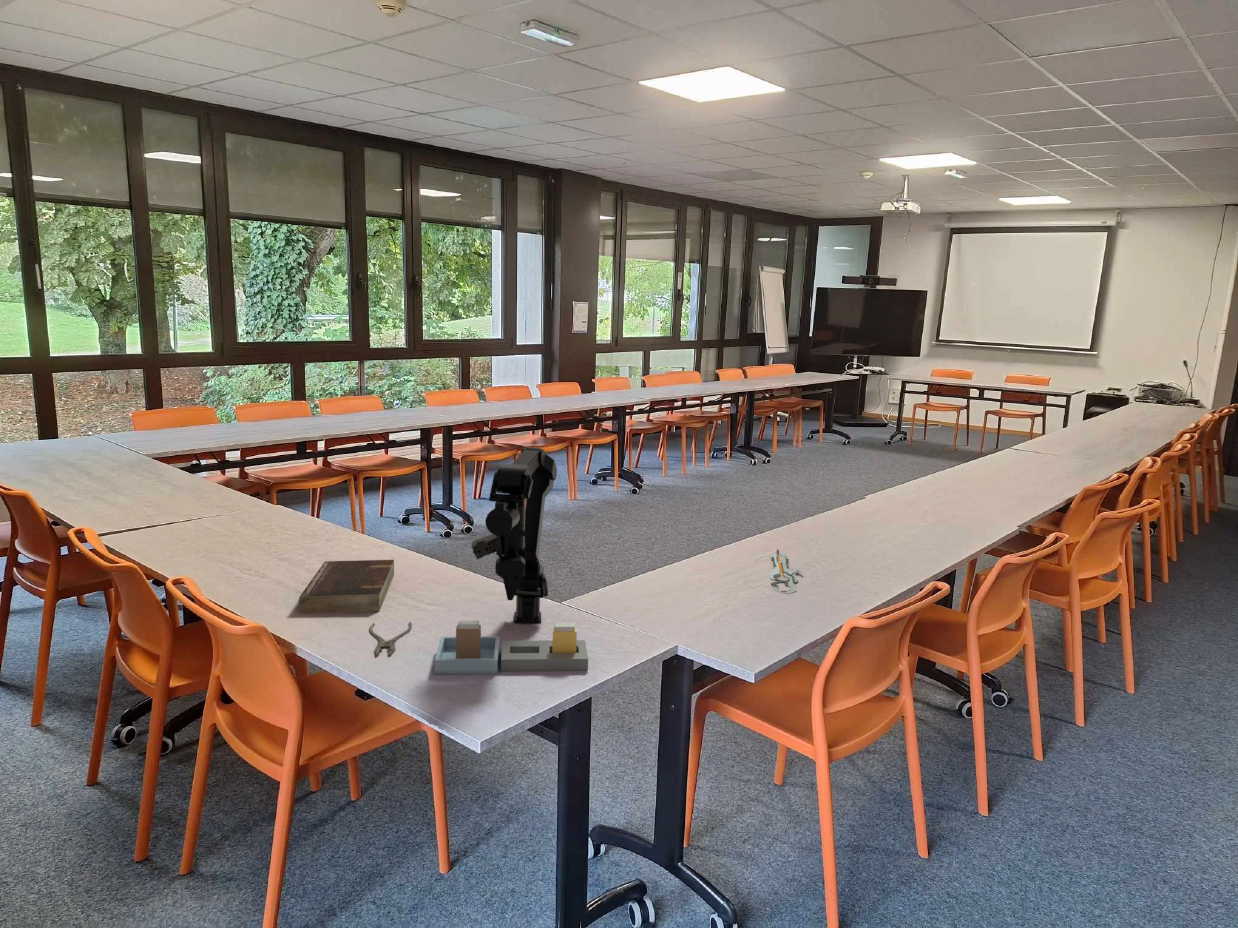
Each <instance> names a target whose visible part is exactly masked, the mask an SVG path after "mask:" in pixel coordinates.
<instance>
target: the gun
mask: <svg viewBox="0 0 1238 928" xmlns="http://www.w3.org/2000/svg"><path fill="white" fill-rule="evenodd" d="M782 553H783V554H782ZM771 560H772V563H773V564H772V566H773V569H772V570H771V571H770V572H769V578H770V579H769V580H771V581H773V582H770V583H769V585H770V586H771V590H773V591H776V592H778V593H779V594H788V595H790V594H794V593H797V591H798V590H797V586H796V584H798V582H799V580H798V579H797V576H800V577H802V578H804V573H802V571H801V570H800V569H801V568H798V567H797V568H794V569H790V565H789V560H790V559H789V558H788V555H787V554H786V553H785V552H784V551H780V549H776V553H774V554H771ZM799 570H800V571H799ZM779 584H784V586H785V587H787V588H790V589H788V590H781V589H780V588H779Z"/></svg>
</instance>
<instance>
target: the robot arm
mask: <svg viewBox="0 0 1238 928" xmlns="http://www.w3.org/2000/svg"><path fill="white" fill-rule="evenodd" d="M557 475H558V468H557V464H556V461H555V459H554V458H552V457H551V456H549V455H548V454H546V451H545V449H542V448H541V447H530V446H529V447H527V446H526V447H524V448H522V449H521V452H520V454H519V455H518V456H517V458H516V459H515V460H514V461H513V462H512V463H511V464H502V465H501V466H499V467H498V468H497V469H496V471H495V472H494V474H493V477H492V484H491V488H490V492H489V493H490V494H489V497H488V501H489V502H495V503H494V508H493V509H492V510H490V511H489V512H488V514H487V515H486V518H485V526H486V529H487V531H488V532H489V533H491V534H489V535H486V536H483V537H479V538H477V539H474V540H473V541H472V543H471V549H472V553H473V554H474V556H475V558H476V559H477V560H479V559H482V558H483V557H486V556H488V555H489V556H490V555H492V554H494V553H495V554H496V556H497V557H498V558H496V559H495V568H494V569H495V574H496V576H498V577H499V578H501V579H502V580H503V585H504V590H505V594H506V600H507V601H513V600H514V597H516V598H515V599H516V600H515V602H516V603H515V611H514V615H513V616H514V618H513V622H514V623H517V624H518V623H519V624H520V623H523V624H524V623H526V624H527V623H528V624H529V623H531V624H533V623H536V624H537V623H538V624H539V623H542V611H540V610H541V609H540V608H541V607H540V606H541V599H544V598H545V597H548V596H549V586H548V585H549V583H548V580H547V576H546V574H545V573H544V570H545V568H544V565H543V562H542V561H541V558H540V555H539V554H540V547H541V539H542V538H541V537H542V531H543V530H542V529H543V528H542V527H543V522H544V521H543V520H544V511H545V504H546V498H547V496H548V495H549V494H550V492H551V491H552V490H553V488H554V482H555V481H556V479H557Z"/></svg>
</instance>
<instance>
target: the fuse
mask: <svg viewBox="0 0 1238 928" xmlns="http://www.w3.org/2000/svg"><path fill="white" fill-rule="evenodd" d="M577 635H578V631H577V627H576V624H575V623H564V622H563V623H561V622H560V623H556V622H555V623H554V627H552V653H576V641H577V640H578V639H577Z"/></svg>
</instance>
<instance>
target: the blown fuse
mask: <svg viewBox="0 0 1238 928" xmlns="http://www.w3.org/2000/svg"><path fill="white" fill-rule="evenodd" d="M481 636H482V625H481V624H480V620H459V621H458V624H457V625H456V628H455V637H456V659H474V658H480V657H481Z"/></svg>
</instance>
